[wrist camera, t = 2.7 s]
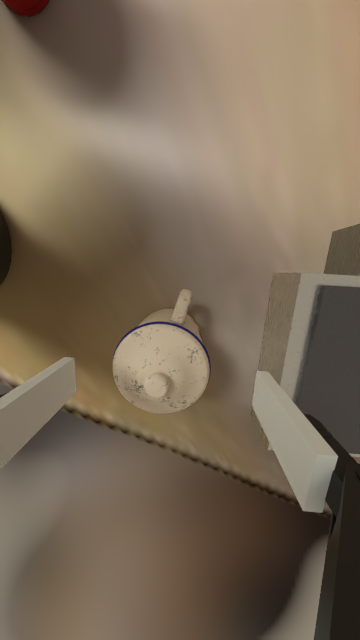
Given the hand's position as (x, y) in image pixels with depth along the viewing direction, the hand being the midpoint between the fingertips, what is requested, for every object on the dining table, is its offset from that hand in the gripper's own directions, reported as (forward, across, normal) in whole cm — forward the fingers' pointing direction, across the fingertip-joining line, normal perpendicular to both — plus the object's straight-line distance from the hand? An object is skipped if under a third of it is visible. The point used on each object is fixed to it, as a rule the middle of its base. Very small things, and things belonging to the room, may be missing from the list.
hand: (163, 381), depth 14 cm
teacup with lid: (+13, 0, 0) cm, 13 cm away
